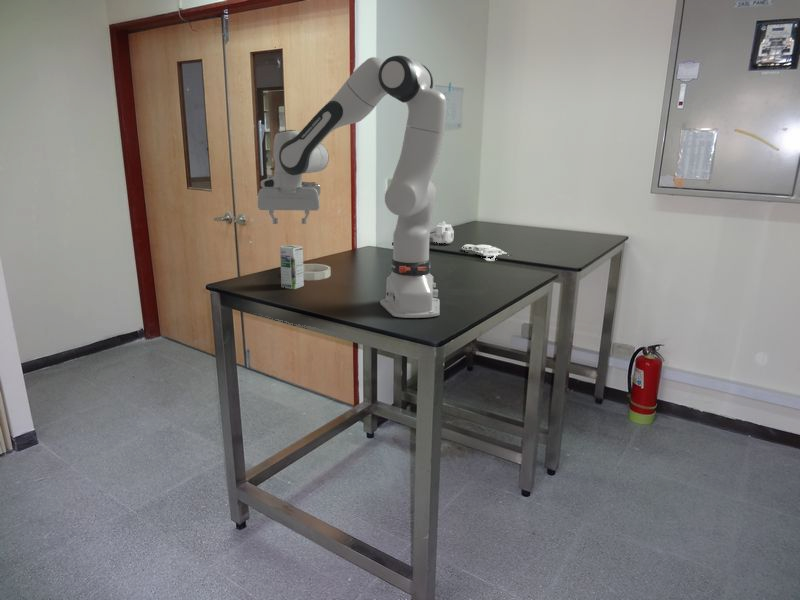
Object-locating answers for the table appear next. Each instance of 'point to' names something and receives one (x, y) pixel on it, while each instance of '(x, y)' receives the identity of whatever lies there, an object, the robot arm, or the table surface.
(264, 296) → the table surface
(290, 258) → the syrup box
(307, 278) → the round bowl
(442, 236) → the mechanical part
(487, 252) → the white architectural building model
